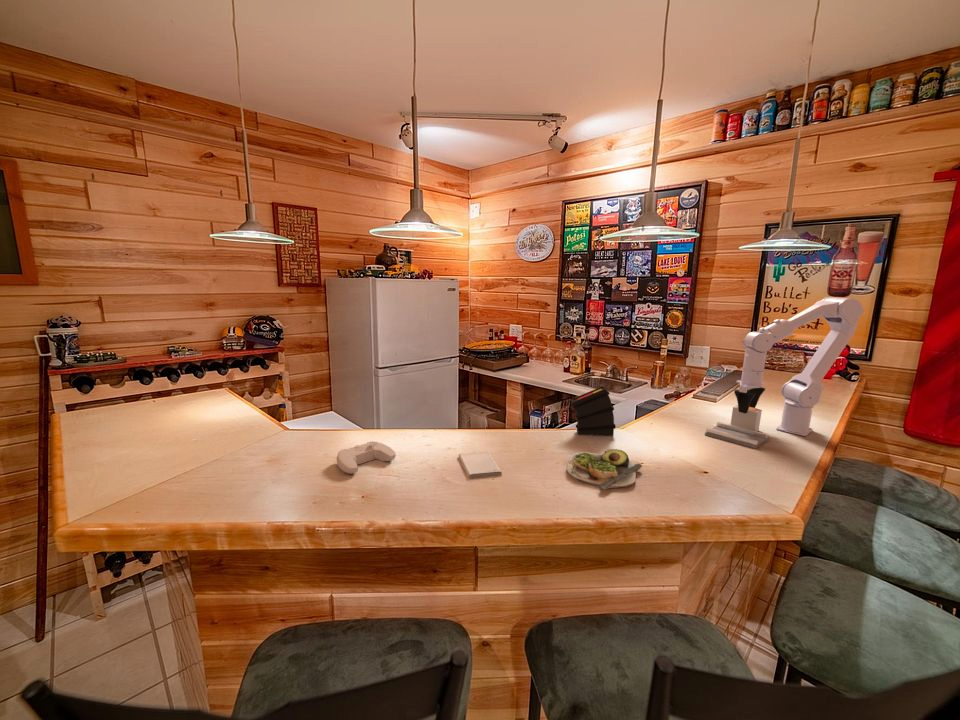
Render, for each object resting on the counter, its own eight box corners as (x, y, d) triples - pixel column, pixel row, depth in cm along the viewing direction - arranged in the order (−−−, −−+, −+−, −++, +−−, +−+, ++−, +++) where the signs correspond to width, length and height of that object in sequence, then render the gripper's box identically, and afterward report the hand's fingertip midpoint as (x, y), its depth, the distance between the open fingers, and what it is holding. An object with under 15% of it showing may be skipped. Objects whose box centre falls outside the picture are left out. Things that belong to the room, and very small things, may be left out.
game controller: (348, 467, 99) (329, 447, 105) (347, 483, 101) (328, 462, 107) (400, 451, 109) (379, 433, 115) (398, 465, 111) (378, 446, 117)
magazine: (625, 431, 129) (607, 388, 127) (584, 448, 131) (566, 405, 128) (621, 427, 133) (604, 385, 130) (582, 443, 134) (564, 401, 132)
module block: (735, 424, 143) (738, 403, 141) (758, 430, 138) (762, 408, 136) (730, 427, 140) (733, 406, 139) (754, 433, 135) (757, 411, 133)
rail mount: (718, 427, 140) (719, 421, 139) (767, 439, 129) (768, 433, 129) (704, 434, 133) (705, 428, 132) (755, 448, 122) (756, 442, 122)
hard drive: (501, 471, 103) (488, 450, 115) (469, 474, 101) (458, 453, 113) (501, 477, 103) (488, 456, 115) (469, 480, 101) (458, 458, 113)
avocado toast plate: (640, 502, 92) (641, 483, 92) (558, 486, 99) (559, 468, 98) (641, 466, 110) (643, 450, 109) (572, 455, 117) (573, 439, 116)
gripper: (746, 364, 143) (741, 403, 145) (731, 370, 133) (725, 411, 136) (771, 368, 137) (764, 408, 140) (756, 374, 128) (749, 417, 131)
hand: (746, 410), depth 138 cm, fingers open, 7 cm apart
